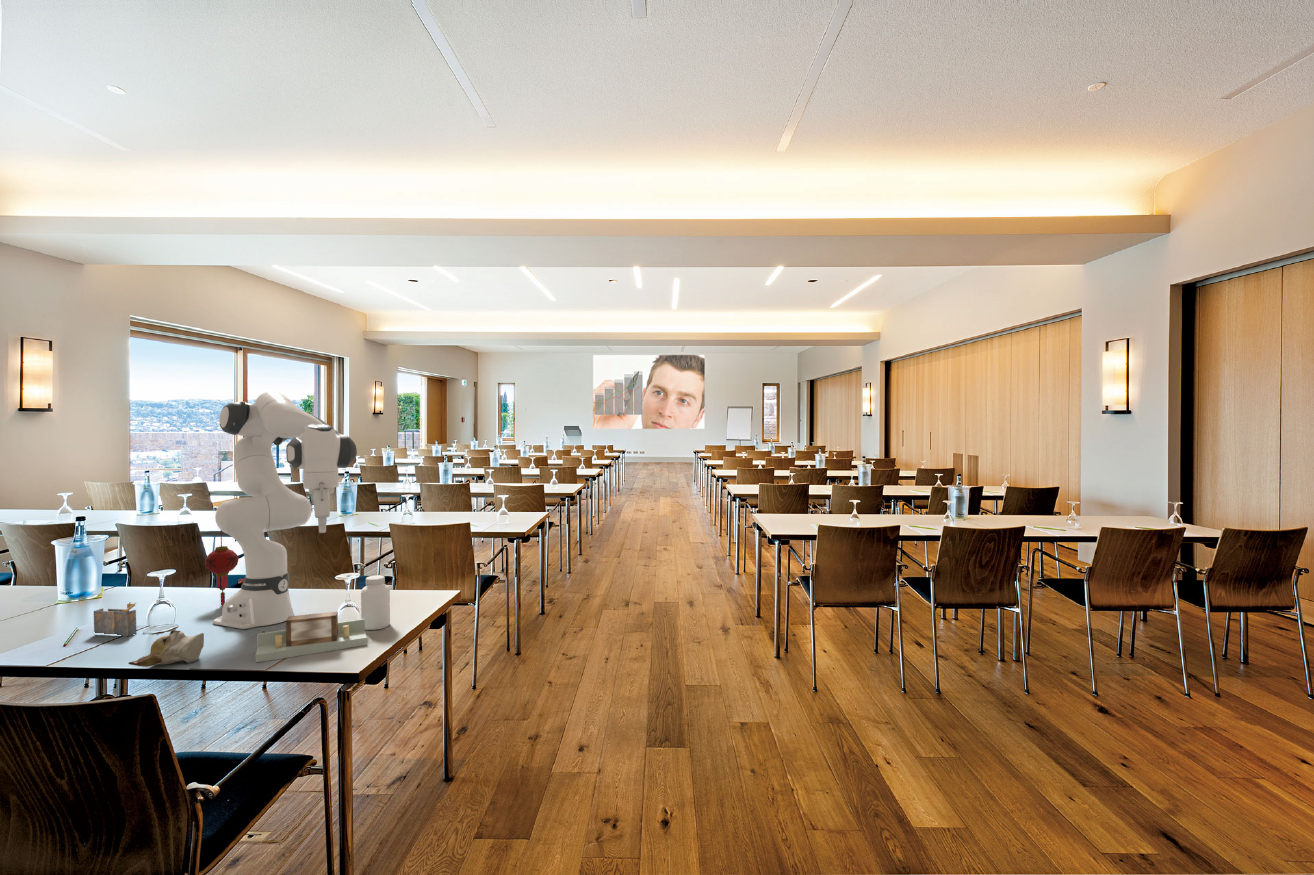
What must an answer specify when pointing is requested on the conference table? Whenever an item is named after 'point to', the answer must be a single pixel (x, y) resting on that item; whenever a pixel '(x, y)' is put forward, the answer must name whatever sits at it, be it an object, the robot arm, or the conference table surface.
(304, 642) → the wooden box
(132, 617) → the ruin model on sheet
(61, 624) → the conference table surface
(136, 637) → the conference table surface
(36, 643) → the conference table surface
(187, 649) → the ceramic sculpture
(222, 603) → the lantern
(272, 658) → the ledge
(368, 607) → the pill bottle
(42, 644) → the conference table surface
